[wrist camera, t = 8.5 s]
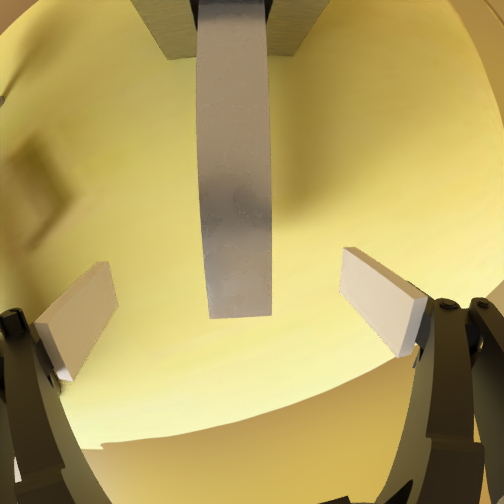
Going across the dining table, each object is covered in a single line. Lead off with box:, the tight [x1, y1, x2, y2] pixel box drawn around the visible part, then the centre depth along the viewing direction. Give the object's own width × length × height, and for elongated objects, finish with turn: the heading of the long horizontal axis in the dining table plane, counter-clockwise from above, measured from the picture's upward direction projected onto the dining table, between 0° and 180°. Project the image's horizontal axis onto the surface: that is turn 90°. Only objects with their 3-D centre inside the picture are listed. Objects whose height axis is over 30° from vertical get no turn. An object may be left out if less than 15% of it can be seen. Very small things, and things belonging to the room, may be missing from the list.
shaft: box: [196, 0, 272, 319], centre depth 15 cm, size 26×4×4 cm, turn 1°
